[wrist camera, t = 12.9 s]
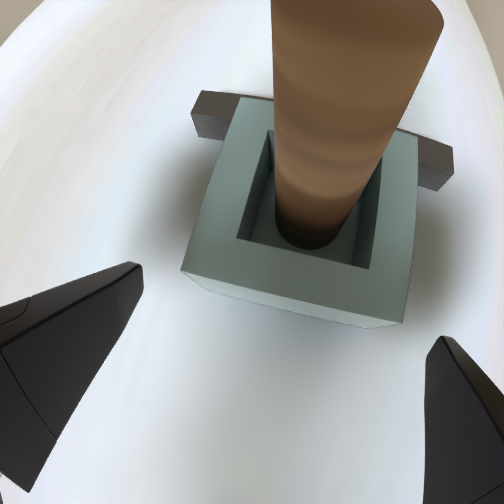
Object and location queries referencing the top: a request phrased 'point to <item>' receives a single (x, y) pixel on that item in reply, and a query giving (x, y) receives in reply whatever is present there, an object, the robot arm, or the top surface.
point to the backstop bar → (224, 104)
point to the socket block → (295, 259)
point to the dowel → (339, 102)
